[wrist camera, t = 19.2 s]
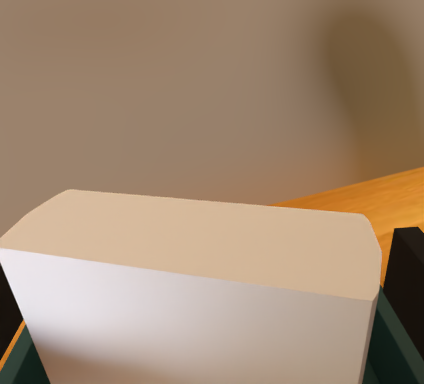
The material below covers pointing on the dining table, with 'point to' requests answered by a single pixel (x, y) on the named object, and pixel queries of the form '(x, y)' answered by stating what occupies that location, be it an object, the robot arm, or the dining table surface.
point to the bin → (373, 374)
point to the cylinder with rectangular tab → (193, 290)
